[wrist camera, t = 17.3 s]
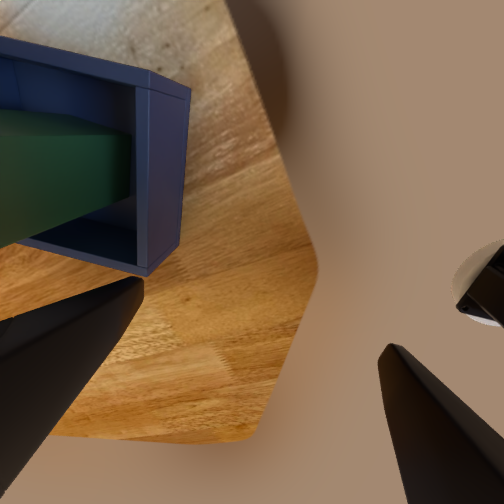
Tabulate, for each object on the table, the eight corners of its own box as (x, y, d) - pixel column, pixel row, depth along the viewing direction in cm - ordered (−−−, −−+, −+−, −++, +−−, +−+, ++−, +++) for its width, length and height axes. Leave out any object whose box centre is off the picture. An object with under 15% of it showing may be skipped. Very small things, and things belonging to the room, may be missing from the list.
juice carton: (132, 134, 18) (-134, 137, 7) (129, 197, 21) (-74, 278, 9) (69, 114, 18) (-303, 83, 7) (73, 179, 21) (-201, 238, 9)
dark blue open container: (191, 88, 17) (149, 69, 12) (179, 245, 23) (147, 277, 18) (11, 46, 18) (-104, 11, 13) (43, 210, 23) (-27, 232, 18)
